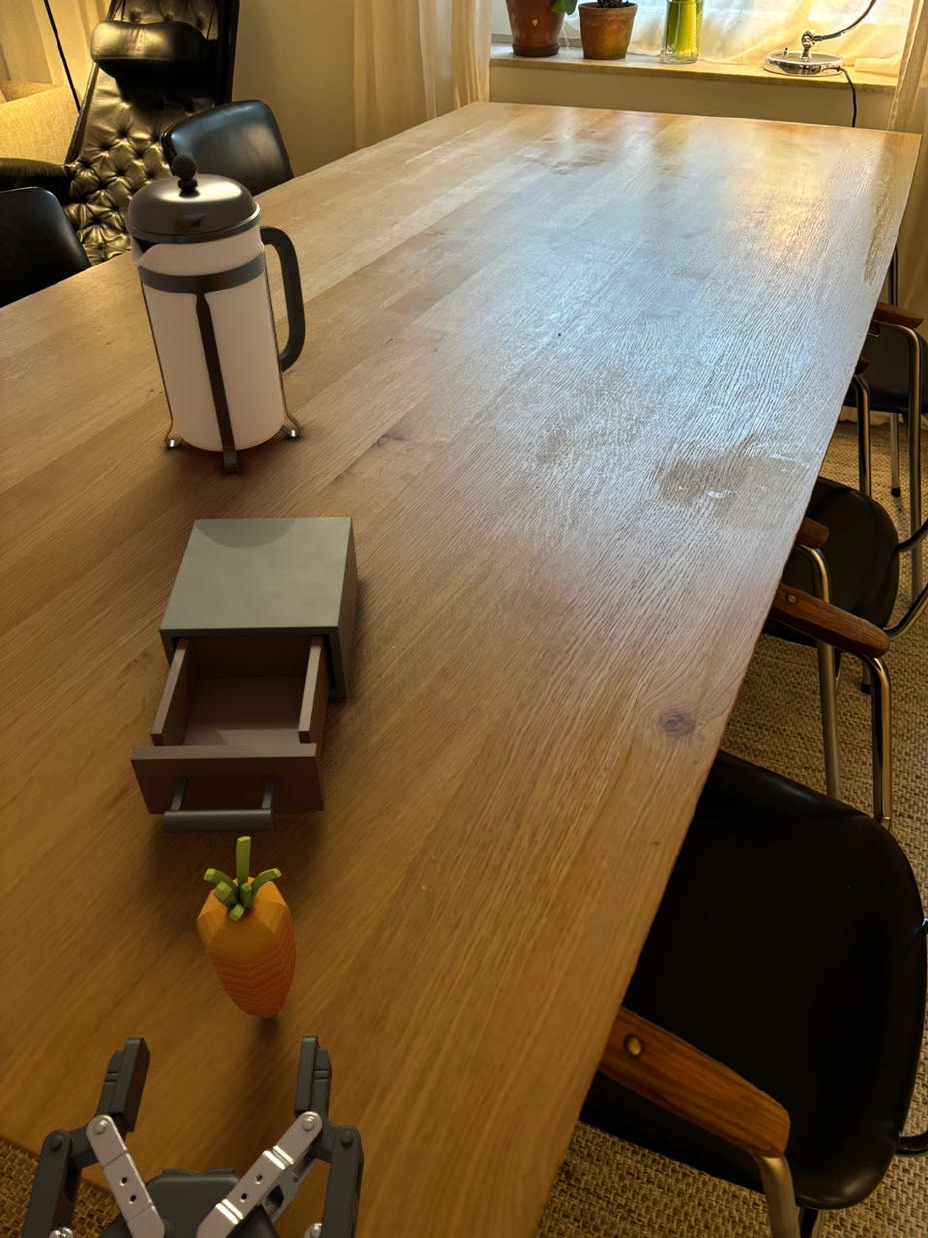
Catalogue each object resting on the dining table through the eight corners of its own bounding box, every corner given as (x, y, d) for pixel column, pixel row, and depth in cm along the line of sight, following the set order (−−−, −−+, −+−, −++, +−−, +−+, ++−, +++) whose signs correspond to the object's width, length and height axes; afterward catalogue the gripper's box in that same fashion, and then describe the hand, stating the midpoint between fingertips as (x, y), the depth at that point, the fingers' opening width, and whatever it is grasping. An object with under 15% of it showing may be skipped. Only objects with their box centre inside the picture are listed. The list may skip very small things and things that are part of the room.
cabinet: (346, 697, 80) (338, 626, 75) (178, 700, 80) (158, 629, 75) (358, 584, 91) (351, 516, 86) (210, 587, 91) (195, 518, 86)
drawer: (318, 862, 67) (308, 808, 63) (134, 866, 67) (113, 811, 63) (339, 678, 80) (332, 624, 77) (186, 681, 80) (172, 627, 77)
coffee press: (307, 471, 106) (268, 175, 86) (156, 478, 105) (82, 182, 86) (314, 394, 119) (282, 122, 100) (180, 399, 118) (121, 127, 99)
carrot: (268, 960, 62) (229, 809, 53) (328, 1003, 60) (298, 853, 50) (210, 1022, 59) (157, 874, 50) (270, 1070, 57) (227, 924, 47)
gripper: (333, 1446, 34) (363, 1003, 47) (-79, 1453, 34) (60, 1007, 47) (351, 1486, 39) (374, 1076, 52) (-9, 1492, 39) (100, 1080, 52)
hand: (225, 1044), depth 49 cm, fingers open, 8 cm apart
